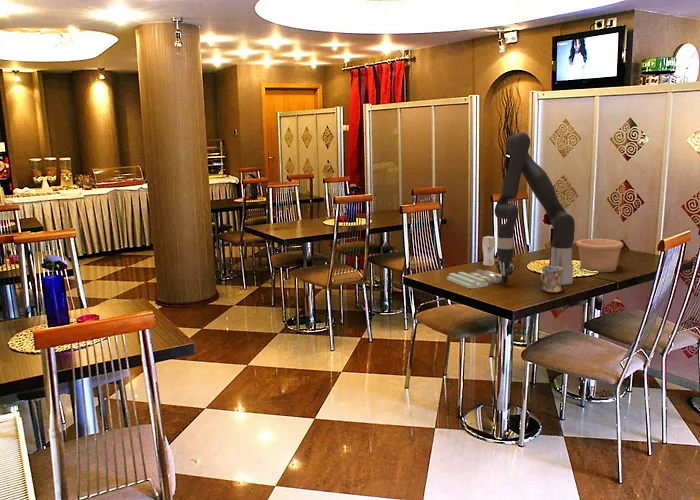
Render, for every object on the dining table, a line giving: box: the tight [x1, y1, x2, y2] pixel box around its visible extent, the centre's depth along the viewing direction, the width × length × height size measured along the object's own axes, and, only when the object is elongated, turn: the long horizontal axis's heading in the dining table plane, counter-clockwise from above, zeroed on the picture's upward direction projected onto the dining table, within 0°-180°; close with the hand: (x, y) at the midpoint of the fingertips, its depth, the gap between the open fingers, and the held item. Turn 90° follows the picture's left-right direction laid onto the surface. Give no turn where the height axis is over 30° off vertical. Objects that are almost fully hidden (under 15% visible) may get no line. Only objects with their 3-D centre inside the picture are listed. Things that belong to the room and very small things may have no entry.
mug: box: [540, 265, 564, 294], centre depth 262 cm, size 12×9×11 cm
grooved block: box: [446, 271, 489, 289], centre depth 282 cm, size 20×10×3 cm, turn 22°
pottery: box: [576, 238, 624, 273], centre depth 300 cm, size 22×22×14 cm
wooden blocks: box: [468, 270, 502, 286], centre depth 286 cm, size 16×11×2 cm
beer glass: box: [481, 235, 496, 266], centre depth 319 cm, size 7×7×15 cm
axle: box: [475, 268, 502, 285], centre depth 286 cm, size 16×4×4 cm, turn 22°
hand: (504, 283), depth 274 cm, fingers closed
